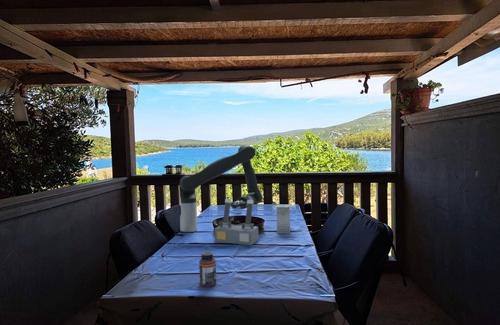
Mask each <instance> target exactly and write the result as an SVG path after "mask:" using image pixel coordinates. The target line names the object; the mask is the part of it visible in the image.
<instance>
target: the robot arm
mask: <svg viewBox="0 0 500 325" xmlns="http://www.w3.org/2000/svg"><path fill="white" fill-rule="evenodd" d="M255 156H256V149H255V148H254V147H252V146H251V145H247V144H243V145H240V146H239V148H238V150H237V152H236V153H234V154H231V155H228V156H224V157H221V158H219V159H217V160H215V161H213V162H211V163H209V164H208V165H206V167H204V168H203V169H202V170H200V171H198V172H196V173H193V174H191V175H184V176H182V177H181V178H180V180H179V199H180V213H181V214H180V215H179V228H180V230H179V231H180V232H183V233H192V232H196V231H197V230H198V217H197V216H198V214H197V212H198V211H197V196H196V189H198V188H199V187H200V186H202V185H203V184H206V182H208V181H212V180H213V179H215V178H217V177H220V176H222V175H223V174H225V173H227V172H229V171H230V170H232V169H234V168H235V167H237V166H239V165H241V166H242V169H243V174H244V177H245V183H246V188H247V190H248V191H251V192H248V193H247V194H245V195H242V196H240V197H238V198H237V200H236V201H231V204H230V208H232V209H237V208H238V209H241V210H244V209H247V200H253V205H254V204H261V203H262V201H263V195H262V193H261V190H260V188H259V186H258V181H257V176H256V173H255V171H254V168H253V166H252V161H251V160H253V159H254V157H255Z"/></svg>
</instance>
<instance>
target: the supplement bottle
mask: <svg viewBox="0 0 500 325" xmlns="http://www.w3.org/2000/svg"><path fill="white" fill-rule="evenodd" d="M216 262H217V260H216V258H215V257H214V254H213V252H212V251H203V252H202V253H201V258H200V259H199V261H198V264H199V266H198V268H199V284H200V286H202V287H204V286H210V287H213V286H215V285H216V284H217V263H216Z"/></svg>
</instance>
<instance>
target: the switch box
mask: <svg viewBox="0 0 500 325" xmlns="http://www.w3.org/2000/svg"><path fill="white" fill-rule="evenodd" d="M222 222H223V220H220V221H219V225H218V226H216V227H214V242H216V243H217V242H219V243H228V244H230V243H231V244H235V245H237V244H238V245H246V246H253V244H255V243H256V242H257V241H259V226H254V224H255V223H251V227H244V224H245V222H242V223H241V225H239V224H232V221H228V226H226V225H222Z"/></svg>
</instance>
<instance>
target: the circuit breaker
mask: <svg viewBox="0 0 500 325" xmlns="http://www.w3.org/2000/svg"><path fill="white" fill-rule="evenodd" d="M290 208H291V206H290V204H276V233H277V234H290V233H291V218H290V217H291V212H290Z"/></svg>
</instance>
